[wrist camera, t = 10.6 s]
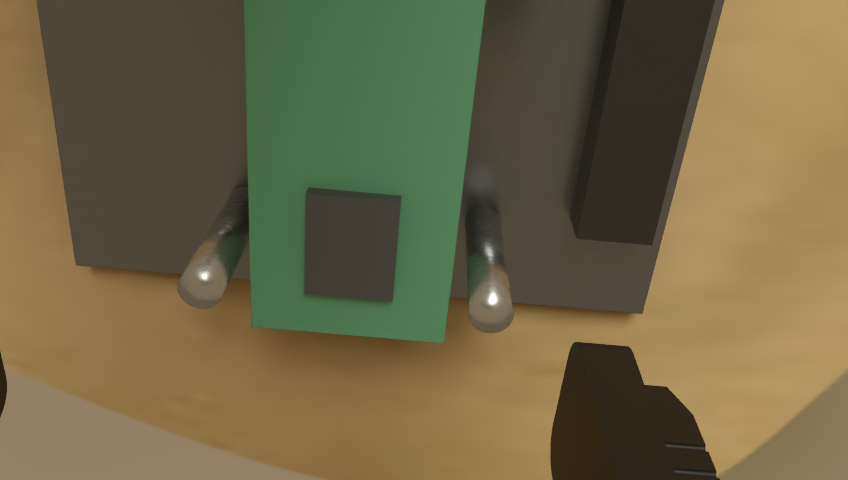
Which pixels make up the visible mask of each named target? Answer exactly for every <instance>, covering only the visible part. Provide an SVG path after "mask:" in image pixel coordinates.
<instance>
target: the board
mask: <svg viewBox="0 0 848 480" xmlns="http://www.w3.org/2000/svg"><path fill="white" fill-rule="evenodd" d="M485 2H486V0H244V20H245V65H246V109H247V154H248V198H249V243H250V288H251V327H261V328H273V329H284V330H296V331H307V332H319V333H330V334H342V335H353V336H365V337H377V338H388V339H400V340H411V341H423V342H434V343H444V339H445V330H446V322H447V314H448V306H449V298H450V289H451V281H452V273H453V265H454V256H455V248H456V240H457V232H458V224H459V215H460V207H461V199H462V191H463V182H464V174H465V166H466V158H467V150H468V141H469V133H470V125H471V117H472V109H473V100H474V92H475V84H476V76H477V67H478V59H479V51H480V43H481V35H482V26H483V18H484V10H485Z"/></svg>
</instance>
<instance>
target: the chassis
mask: <svg viewBox="0 0 848 480" xmlns="http://www.w3.org/2000/svg"><path fill="white" fill-rule="evenodd" d="M723 3H724V0H486V2H485V10H484V18H483V26H482V35H481V43H480V51H479V59H478V67H477V76H476V84H475V92H474V100H473V109H472V117H471V125H470V133H469V141H468V150H467V158H466V166H465V174H464V182H463V191H462V199H461V207H460V215H459V224H458V232H457V240H456V248H455V256H454V265H453V273H452V281H451V289H450V297H452V298H463V299H468V301H469V318H470V321H471V323H472V325H473V326H474V327H475V328H476V329H478V330H480V331H482V332H485V333H496V332H500V331H502V330H504V329H505V328H507V327H508V326H509V325H510V323H511V322H512V320H513V315H514V314H513V306H512V303H522V304H533V305H545V306H557V307H568V308H580V309H592V310H603V311H615V312H627V313H638V314H642V313H643V309H644V305H645V301H646V297H647V294H648V290H649V286H650V282H651V278H652V275H653V271H654V267H655V263H656V259H657V255H658V252H659V248H660V244H661V240H662V236H663V233H664V229H665V225H666V221H667V217H668V213H669V210H670V206H671V202H672V198H673V194H674V191H675V187H676V183H677V179H678V175H679V171H680V168H681V164H682V160H683V156H684V152H685V148H686V145H687V141H688V137H689V133H690V129H691V126H692V122H693V118H694V114H695V110H696V106H697V103H698V99H699V95H700V91H701V87H702V84H703V80H704V76H705V72H706V68H707V64H708V61H709V57H710V53H711V49H712V45H713V42H714V38H715V34H716V30H717V26H718V22H719V19H720V15H721V11H722V7H723ZM37 6H38V13H39V20H40V27H41V33H42V40H43V47H44V53H45V60H46V67H47V74H48V80H49V87H50V94H51V101H52V107H53V114H54V121H55V128H56V134H57V141H58V148H59V155H60V161H61V168H62V175H63V182H64V188H65V195H66V202H67V209H68V215H69V222H70V229H71V236H72V242H73V249H74V256H75V262H76V265H79V266H91V267H102V268H114V269H126V270H137V271H149V272H161V273H172V274H182V276H181V278H180V279H179V282H178V292H179V295H180V296H181V298H182V299H183V300H184V301H185V302H186V303H187V304H189V305H191V306H193V307H196V308H201V309H205V308H210V307H213V306H215V305H216V304H217V303H218V302H219V301H220V299H221V297H222V295H223V293H224V291H225V289H226V287H227V285H228V283H229V281H230V279H242V280H250V243H249V198H248V154H247V109H246V65H245V20H244V0H37Z"/></svg>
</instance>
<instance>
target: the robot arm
mask: <svg viewBox="0 0 848 480" xmlns="http://www.w3.org/2000/svg"><path fill="white" fill-rule="evenodd" d="M6 393H7V380H6V375H5V370H4V366H3V361H2V357H1V353H0V416H1V414H2V411H3V408H4V405H5V400H6ZM705 446H706V445H705V443H704V440H703V438H702V435H701V433H700V431H699V428H698V426H697V423H696V421H695V419H694V416H693V414H692V413H691V412H690V411H689V410H688V409H687V408H686V407H685V406H684V405H683V404H682V403H681V402H680V400H679V399H678V398H677V397H676V396H675V395H674V394H673V393H672V392H671V391H670V390H669V389H668V388H667V387H662V386H650V385H644V383H643V380H642V377H641V374H640V371H639V369H638V366H637V363H636V360H635V357H634V354H633V352H632V350H631V349H630V348H629V347H628V346H616V345H605V344H593V343H581V342H575V343H573V345H572V347H571V349H570V352H569V356H568V360H567V365H566V369H565V374H564V378H563V382H562V387H561V391H560V396H559V400H558V405H557V409H556V414H555V418H554V423H553V428H552V435H551V471H552V478H553V480H720V479H719V478H716V469H715V467H714V464H713V462H712V460H711V457H710V455H709V452H706V451H705Z"/></svg>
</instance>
